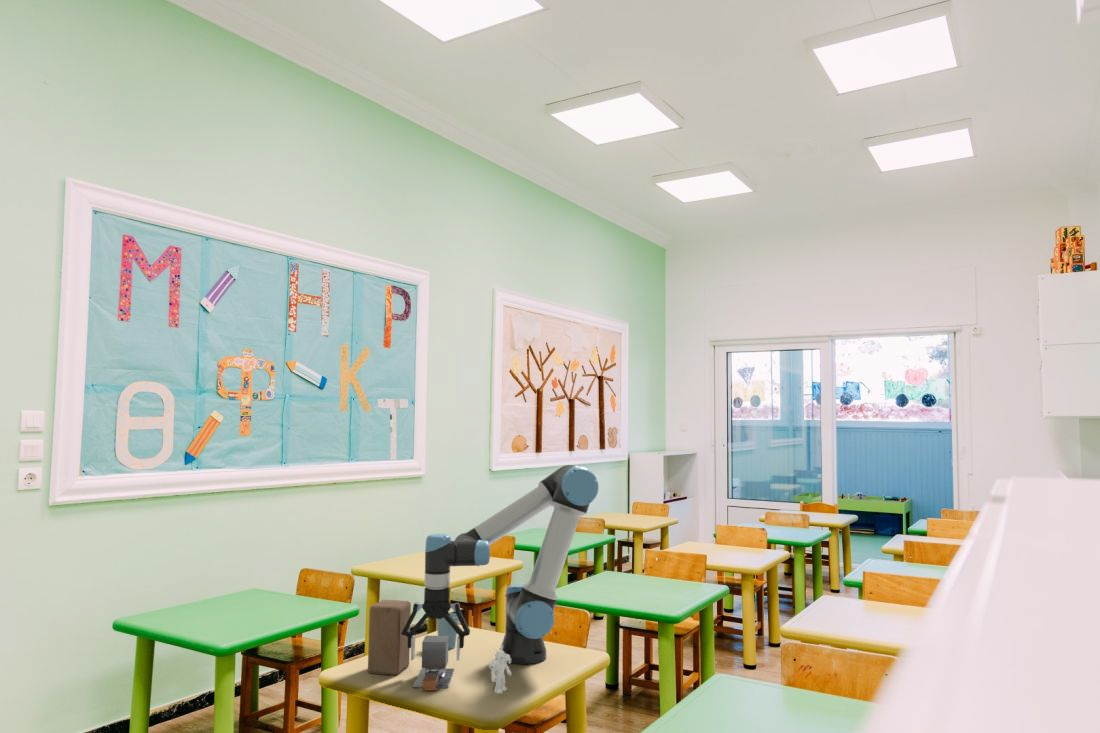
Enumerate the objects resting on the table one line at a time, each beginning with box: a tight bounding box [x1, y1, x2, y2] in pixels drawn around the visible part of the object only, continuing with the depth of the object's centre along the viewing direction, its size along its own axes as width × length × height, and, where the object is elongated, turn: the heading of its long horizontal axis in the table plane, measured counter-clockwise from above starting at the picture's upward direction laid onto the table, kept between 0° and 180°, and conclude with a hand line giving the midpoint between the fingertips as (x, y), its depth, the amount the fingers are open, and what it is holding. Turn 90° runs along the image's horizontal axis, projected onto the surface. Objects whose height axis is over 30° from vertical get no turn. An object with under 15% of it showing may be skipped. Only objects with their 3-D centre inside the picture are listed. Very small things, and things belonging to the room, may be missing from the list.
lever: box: [412, 668, 455, 691], centre depth 217 cm, size 10×19×7 cm, turn 1°
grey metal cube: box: [421, 635, 449, 669], centre depth 221 cm, size 7×7×8 cm
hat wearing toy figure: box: [488, 646, 512, 694], centre depth 210 cm, size 9×4×12 cm, turn 148°
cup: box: [435, 612, 460, 650], centre depth 251 cm, size 8×8×10 cm
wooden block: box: [367, 599, 412, 676], centre depth 227 cm, size 10×10×20 cm
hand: (435, 659), depth 221 cm, fingers open, 13 cm apart
